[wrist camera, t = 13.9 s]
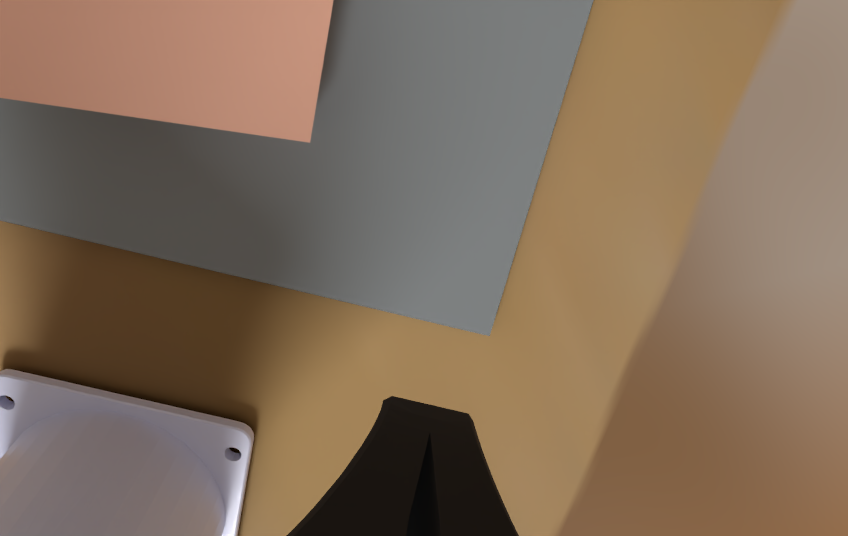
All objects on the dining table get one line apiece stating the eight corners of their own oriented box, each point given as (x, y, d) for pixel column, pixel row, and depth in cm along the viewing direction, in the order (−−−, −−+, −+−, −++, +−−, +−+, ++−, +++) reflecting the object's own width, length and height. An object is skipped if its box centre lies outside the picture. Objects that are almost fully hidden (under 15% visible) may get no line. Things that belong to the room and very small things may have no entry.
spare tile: (309, 142, 19) (-98, 83, 17) (305, 120, 20) (-71, 63, 18) (342, -55, 17) (-114, -152, 15) (335, -65, 18) (-83, -155, 16)
